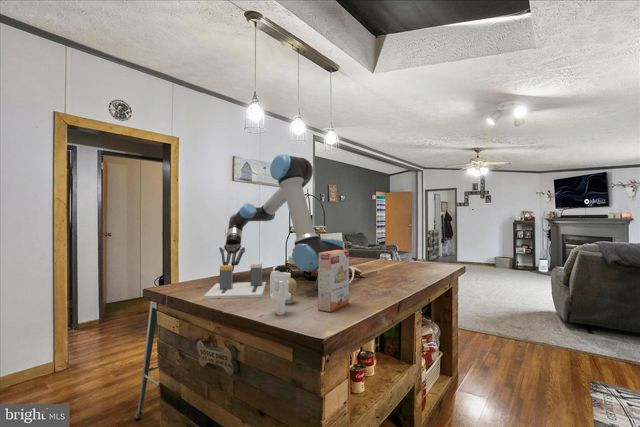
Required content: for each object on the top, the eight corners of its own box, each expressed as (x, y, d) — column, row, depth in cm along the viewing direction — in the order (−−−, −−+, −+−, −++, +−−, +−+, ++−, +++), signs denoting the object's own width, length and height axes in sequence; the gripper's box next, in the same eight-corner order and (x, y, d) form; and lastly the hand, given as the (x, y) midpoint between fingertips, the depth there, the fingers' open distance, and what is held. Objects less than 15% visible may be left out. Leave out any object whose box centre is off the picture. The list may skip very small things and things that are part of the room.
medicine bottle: (289, 291, 149) (289, 265, 149) (286, 295, 142) (286, 267, 142) (273, 291, 150) (273, 264, 150) (269, 295, 143) (269, 267, 143)
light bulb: (278, 305, 127) (278, 279, 127) (282, 300, 133) (282, 275, 133) (294, 305, 126) (294, 279, 126) (298, 301, 133) (298, 276, 133)
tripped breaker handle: (231, 288, 149) (231, 266, 149) (219, 289, 148) (219, 266, 148) (232, 286, 153) (232, 265, 153) (221, 287, 152) (221, 265, 152)
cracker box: (331, 313, 117) (331, 253, 117) (317, 310, 120) (317, 252, 120) (350, 303, 128) (349, 249, 128) (336, 301, 132) (336, 249, 132)
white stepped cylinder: (266, 312, 117) (266, 270, 117) (284, 309, 121) (283, 268, 121) (277, 317, 112) (276, 273, 112) (294, 313, 116) (294, 270, 116)
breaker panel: (262, 297, 139) (262, 294, 139) (203, 299, 137) (203, 295, 137) (266, 284, 165) (266, 281, 165) (216, 285, 163) (216, 282, 163)
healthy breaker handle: (261, 285, 156) (261, 264, 156) (250, 285, 155) (250, 264, 155) (262, 283, 160) (262, 262, 160) (251, 283, 159) (251, 263, 159)
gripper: (247, 243, 178) (243, 280, 161) (222, 243, 176) (215, 281, 160) (246, 233, 172) (241, 271, 156) (220, 233, 171) (213, 272, 155)
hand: (228, 276), depth 158 cm, fingers closed
